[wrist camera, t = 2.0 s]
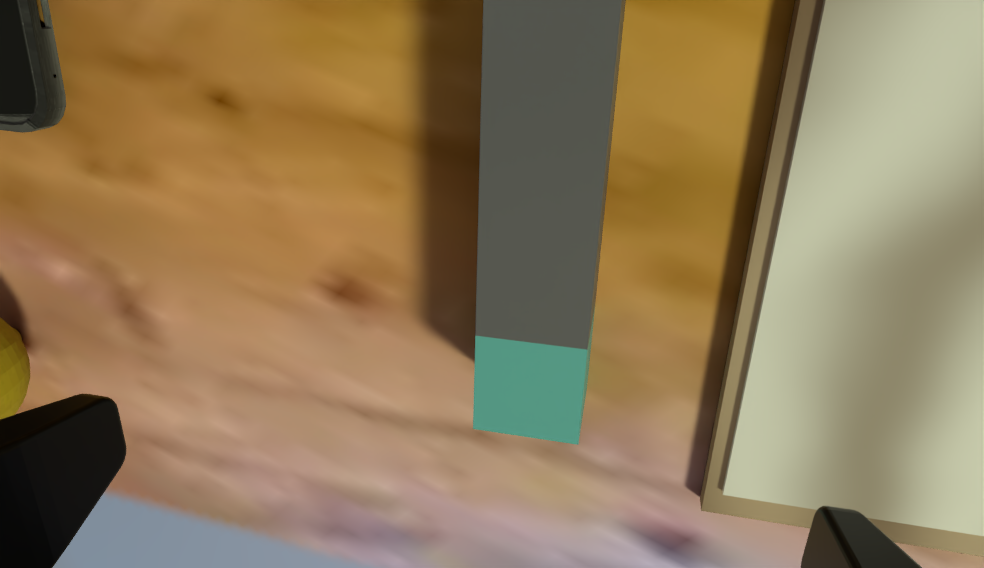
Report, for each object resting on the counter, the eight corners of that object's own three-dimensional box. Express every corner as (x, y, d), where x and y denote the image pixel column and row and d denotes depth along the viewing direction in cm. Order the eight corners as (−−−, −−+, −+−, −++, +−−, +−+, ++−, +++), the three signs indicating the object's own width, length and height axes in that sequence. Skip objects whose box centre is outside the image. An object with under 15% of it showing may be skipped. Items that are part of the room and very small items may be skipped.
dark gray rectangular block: (628, -27, 17) (624, -31, 14) (586, 388, 22) (578, 444, 19) (509, -30, 17) (484, -34, 15) (494, 376, 22) (473, 428, 19)
